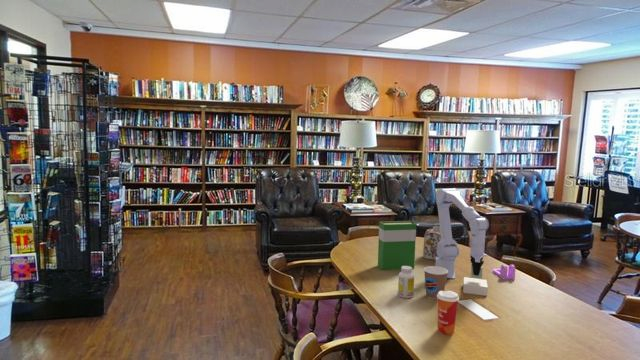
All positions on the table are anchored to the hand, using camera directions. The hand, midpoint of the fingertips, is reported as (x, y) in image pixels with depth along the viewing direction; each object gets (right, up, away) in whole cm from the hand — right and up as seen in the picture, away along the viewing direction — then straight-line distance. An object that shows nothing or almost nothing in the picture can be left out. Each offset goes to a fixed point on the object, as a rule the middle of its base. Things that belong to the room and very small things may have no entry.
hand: (475, 273), depth 190 cm
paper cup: (-25, -12, -39) cm, 48 cm away
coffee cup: (-21, -9, -7) cm, 24 cm away
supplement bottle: (-33, -9, -7) cm, 35 cm away
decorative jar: (-4, -3, +51) cm, 51 cm away
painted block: (0, -8, +1) cm, 8 cm away
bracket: (+22, -6, +23) cm, 32 cm away
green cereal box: (-31, -4, +32) cm, 45 cm away
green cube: (0, -2, 0) cm, 2 cm away
